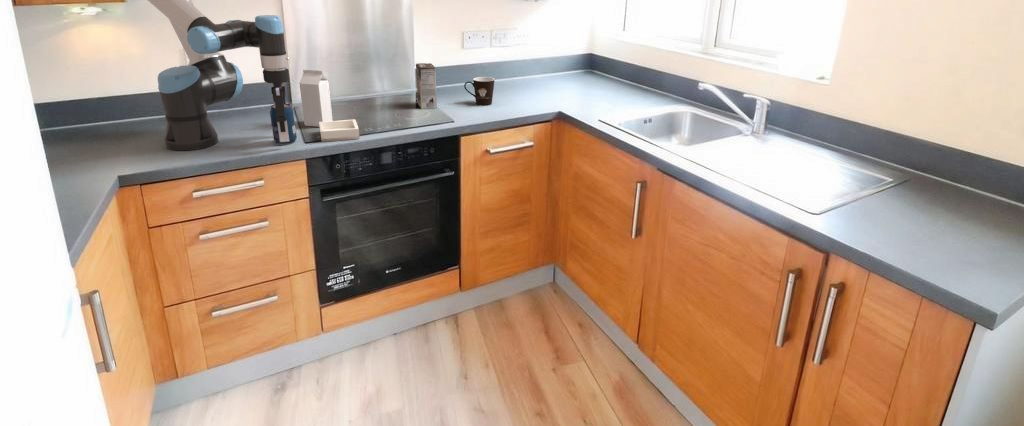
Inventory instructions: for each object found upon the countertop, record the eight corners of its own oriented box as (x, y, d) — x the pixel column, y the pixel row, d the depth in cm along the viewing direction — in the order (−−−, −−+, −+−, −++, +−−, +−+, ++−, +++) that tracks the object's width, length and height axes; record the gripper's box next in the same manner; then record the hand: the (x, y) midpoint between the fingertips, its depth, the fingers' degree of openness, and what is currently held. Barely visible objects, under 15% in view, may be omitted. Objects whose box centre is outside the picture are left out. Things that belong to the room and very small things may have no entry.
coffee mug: (498, 103, 247) (498, 78, 242) (486, 107, 240) (486, 82, 236) (475, 99, 252) (475, 75, 248) (463, 103, 245) (462, 78, 241)
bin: (321, 142, 195) (320, 131, 194) (320, 131, 205) (319, 121, 204) (359, 139, 199) (358, 128, 197) (356, 129, 209) (355, 119, 208)
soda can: (270, 144, 191) (264, 107, 187) (279, 138, 198) (274, 102, 193) (291, 145, 191) (286, 108, 186) (300, 139, 197) (295, 103, 192)
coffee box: (417, 103, 243) (415, 63, 237) (433, 102, 245) (431, 62, 239) (420, 109, 235) (419, 67, 229) (437, 108, 237) (435, 66, 231)
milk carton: (323, 127, 210) (317, 72, 203) (304, 126, 212) (297, 71, 204) (332, 122, 217) (327, 68, 209) (314, 120, 218) (308, 67, 210)
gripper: (288, 75, 175) (297, 145, 184) (288, 60, 197) (296, 124, 205) (260, 77, 173) (271, 147, 182) (263, 61, 194) (273, 125, 203)
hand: (284, 135), depth 193 cm, fingers open, 13 cm apart
